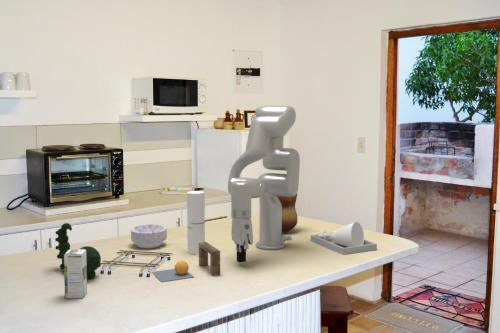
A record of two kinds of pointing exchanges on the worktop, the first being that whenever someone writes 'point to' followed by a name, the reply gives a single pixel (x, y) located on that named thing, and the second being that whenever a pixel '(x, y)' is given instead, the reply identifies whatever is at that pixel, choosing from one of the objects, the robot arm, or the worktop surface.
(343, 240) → the rocket engine
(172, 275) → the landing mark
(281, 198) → the brown vase
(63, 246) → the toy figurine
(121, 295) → the worktop surface
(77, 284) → the syrup box
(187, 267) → the ball
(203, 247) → the bridge
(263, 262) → the worktop surface
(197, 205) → the cylindrical container
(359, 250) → the grey rimmed tray
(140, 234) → the paper bowls
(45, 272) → the worktop surface
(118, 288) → the worktop surface
